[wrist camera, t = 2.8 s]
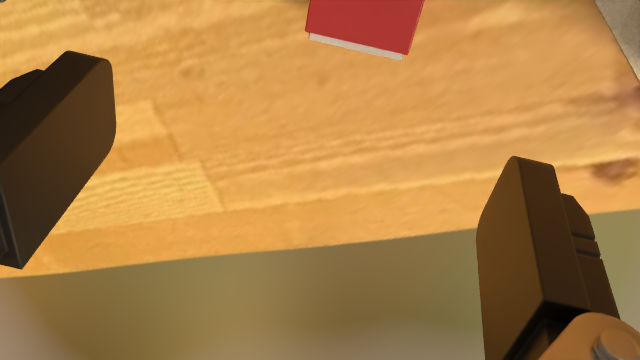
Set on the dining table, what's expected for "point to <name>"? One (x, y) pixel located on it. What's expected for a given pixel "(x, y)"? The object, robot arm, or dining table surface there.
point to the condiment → (624, 27)
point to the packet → (365, 25)
